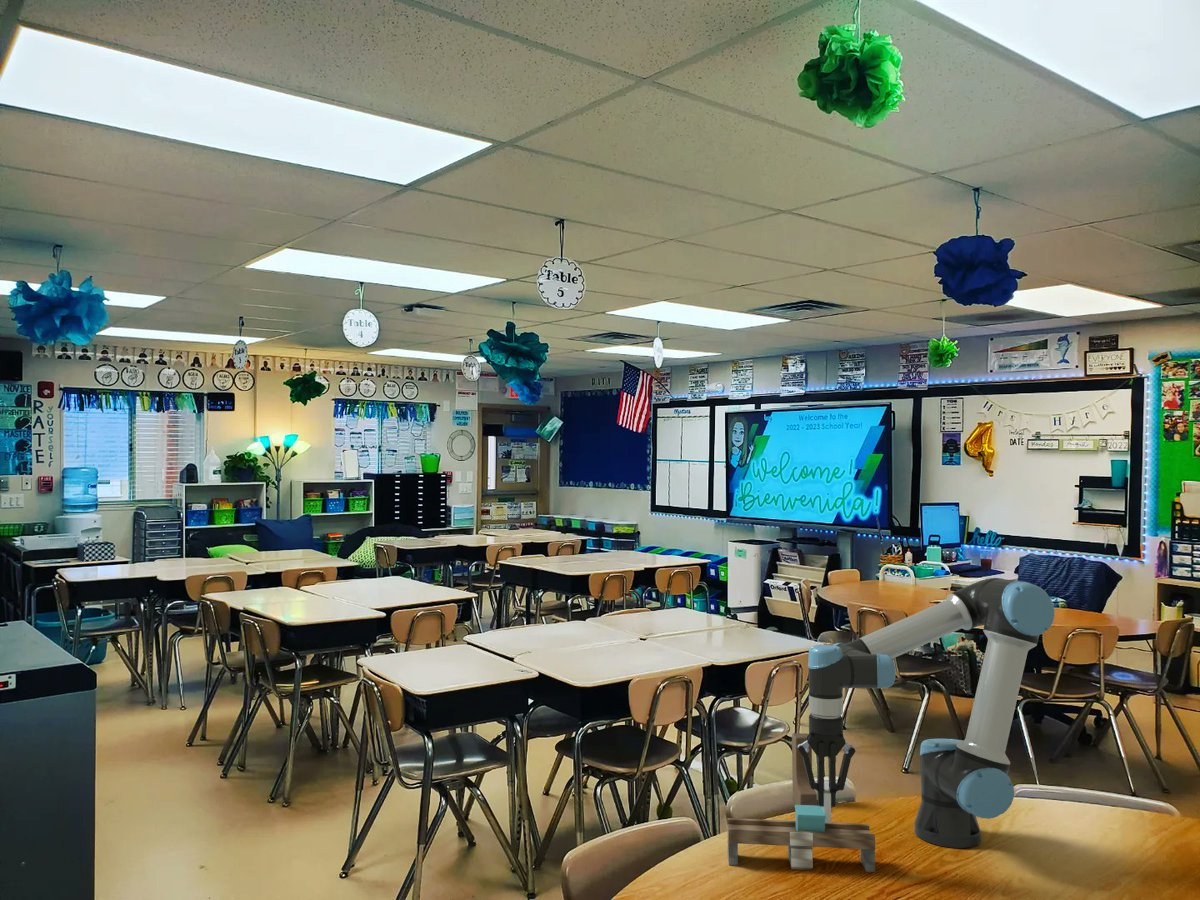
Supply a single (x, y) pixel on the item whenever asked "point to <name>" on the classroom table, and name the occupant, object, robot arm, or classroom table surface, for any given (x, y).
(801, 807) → the rider
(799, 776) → the wooden block
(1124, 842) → the classroom table surface
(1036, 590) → the robot arm
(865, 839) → the wooden bench
